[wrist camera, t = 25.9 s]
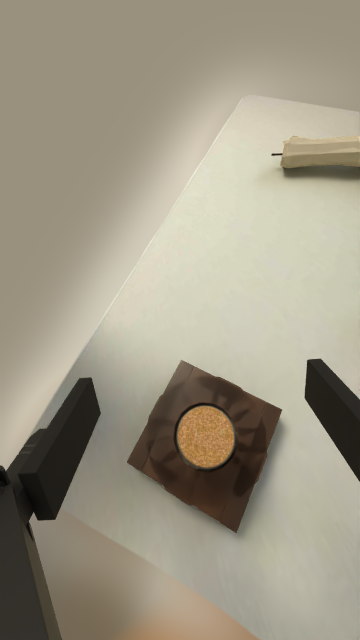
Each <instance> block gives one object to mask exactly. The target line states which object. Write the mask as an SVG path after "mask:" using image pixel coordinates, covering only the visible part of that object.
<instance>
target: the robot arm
mask: <svg viewBox="0 0 360 640" xmlns="http://www.w3.org/2000/svg"><path fill="white" fill-rule="evenodd" d="M305 399H306V401H307V402H308V404H309V406H310V407H311V409H312V410H313V412H314V413H315V415H316V416H317V418H318V419H319V421H320V422H321V424H322V425H323V427H324V428H325V430H326V431H327V433H328V434H329V436H330V437H331V439H332V440H333V442H334V443H335V445H336V447H337V448H338V450H339V451H340V453H341V454H342V456H343V457H344V459H345V460H346V462H347V463H348V465H349V466H350V468H351V469H352V471H353V472H354V474H355V475H356V477H357V478H358V480H359V481H360V399H359V398H358V397H357V396H356V395H355V394H354V393H353V392H352V391H351V390H350V389H349V388H348V387H347V386H346V385H345V384H344V383H343V382H342V381H341V380H340V378H339V377H338V376H337V375H336V374H335V373H334V372H333V371H332V370H331V369H330V368H329V367H328V366H327V365H326V364H325V363H324V362H323V361H322V360H321V359H310V360H307V372H306V386H305ZM100 414H101V412H100V408H99V404H98V401H97V397H96V393H95V389H94V385H93V381H92V378H91V377H89V378H79V380H78V381H77V383H76V384H75V386H74V387H73V389H72V390H71V392H70V394H69V395H68V397H67V398H66V400H65V401H64V403H63V404H62V406H61V407H60V409H59V410H58V412H57V413H56V415H55V417H54V418H53V420H52V421H51V423H50V424H49V426H48V427H47V428H46V429H39V430H38V431H36V432H35V433H34V434H33V435H32V436H31V437H30V438H29V439H28V441H27V442H26V444H25V445H24V447H23V448H22V449H21V451H20V452H19V455H17V456H16V458H15V459H14V461H13V462H12V463H11V465H10V466H9V468H8V469H7V471H5V469H4V467H3V466H0V640H62V638H61V635H60V631H59V627H58V624H57V620H56V617H55V613H54V609H53V606H52V602H51V598H50V594H49V591H48V587H47V584H46V580H45V576H44V572H43V569H42V565H41V561H40V558H39V554H38V550H37V547H36V543H35V539H34V536H33V532H32V528H31V525H30V523H29V520H30V518H31V516H32V514H33V512H34V513H35V515H36V517H37V520H55V519H56V517H57V514H58V512H59V510H60V507H61V505H62V503H63V500H64V498H65V496H66V493H67V491H68V488H69V486H70V484H71V481H72V479H73V477H74V474H75V472H76V470H77V467H78V465H79V463H80V460H81V458H82V456H83V453H84V451H85V449H86V446H87V444H88V442H89V439H90V437H91V435H92V432H93V430H94V428H95V425H96V423H97V421H98V418H99V416H100Z"/></svg>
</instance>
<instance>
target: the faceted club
mask: <svg viewBox="0 0 360 640" xmlns="http://www.w3.org/2000/svg"><path fill="white" fill-rule="evenodd" d="M273 155H282V159H281V164H280V166H282V167H283V168H297V167H304V166H315V165H345V166H356V167H360V136H352V137H338V138H325V139H308V138H303V137H297V136H293V137H291V138H290V139H288V140H286V141H284V149H283V153H281V154H272V155H271V156H273Z"/></svg>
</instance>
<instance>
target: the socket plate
mask: <svg viewBox="0 0 360 640" xmlns="http://www.w3.org/2000/svg"><path fill="white" fill-rule="evenodd" d="M198 406H212V407H215V408H217V409H219V410H221V411H222V412H223V413H224V414H226V416H227V417H228V418H229V420H230V421H231V423H232V425H233V428H234V431H235V446H234V449H233V452H232V454H231V456H230V457H229V459H228V460H227V461H226V462H225V463H224V464H222V465H221V466H219V467H217V468H213V469H201V468H198V467H195V466H193V465H191V464H190V463H189V462H188V461H187V460H186V459H185V458H184V457H183V456H182V454H181V452H180V450H179V447H178V444H177V429H178V425H179V422H180V421H181V419H182V417H183V416H184V415H185V414H186V413H187V412H188V411H189V410H191V409H193V408H195V407H198ZM281 412H282V409H280V408H277V407H275V406H273V405H271V404H269V403H267V402H265V401H263V400H261V399H259V398H257V397H255V396H253V395H251V394H249V393H247V392H245V391H243V390H242V389H241V388H240V387H239V386H237V385H235V384H233V383H231V382H229V381H227V380H225V379H223V378H220V377H215V376H213V375H211V374H209V373H207V372H205V371H203V370H201V369H199V368H197V367H194V366H193V365H191V364H189V363H187V362H185V361H182V360H181V362H180V363H179V365H178V367H177V369H176V371H175V373H174V375H173V377H172V378H171V380H170V382H169V384H168V386H167V388H166V390H165V392H164V393H163V394H162V395H161V396H160V397H159V399H158V401H157V403H156V405H155V407H154V408H153V410H152V412H151V414H150V416H149V419H148V423H147V425H146V427H145V429H144V431H143V433H142V435H141V436H140V438H139V440H138V442H137V444H136V446H135V448H134V450H133V451H132V453H131V455H130V457H129V459H128V461H127V463H129V464H130V465H132V466H133V467H135V468H136V469H138V470H140V471H141V472H143V473H144V474H146V475H147V476H149V477H150V478H152V479H154V480H155V481H157V482H158V483H160V484H161V485H163V486H164V488H165V489H166V490H167V491H168V492H170V493H171V494H173V495H174V496H176V497H177V498H179V499H180V500H182V501H184V502H185V503H187V504H189V505H193V506H195V507H197V508H198V509H200V510H202V511H203V512H205V513H206V514H208V515H209V516H211V517H212V518H214V519H215V520H217V521H219V522H220V523H221V524H223V525H225V526H226V527H228V528H229V529H231V530H232V531H234V532H235V533H237V530H238V528H239V525H240V522H241V519H242V517H243V514H244V511H245V509H246V506H247V503H248V501H249V498H250V495H251V492H252V490H253V487H254V484H255V483H256V482H257V481H258V479H259V477H260V474H261V471H262V469H263V466H264V463H265V460H266V458H267V449H268V447H269V444H270V441H271V439H272V436H273V433H274V430H275V428H276V425H277V422H278V420H279V417H280V414H281Z"/></svg>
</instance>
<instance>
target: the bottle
mask: <svg viewBox="0 0 360 640" xmlns="http://www.w3.org/2000/svg"><path fill="white" fill-rule="evenodd" d="M177 444H178V447H179V450H180V452H181V454H182V456H183V457H184V458H185V459H186V460H187V461H188V462H189V463H190V464H191V465H193V466H195V467H198V468H201V469H213V468H217V467H219V466H221V465H222V464H224V463H225V462H226V461H227V460H228V459H229V457H230V456H231V454H232V452H233V449H234V446H235V431H234V428H233V425H232V423H231V421H230V420H229V418H228V417H227V416H226V414H224V413H223V412H222V411H221V410H219V409H217V408H215V407H212V406H198V407H195V408H193V409H191V410H189V411H188V412H187V413H186V414H185V415H184V416H183V417H182V419H181V421H180V422H179V425H178V429H177Z"/></svg>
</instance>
